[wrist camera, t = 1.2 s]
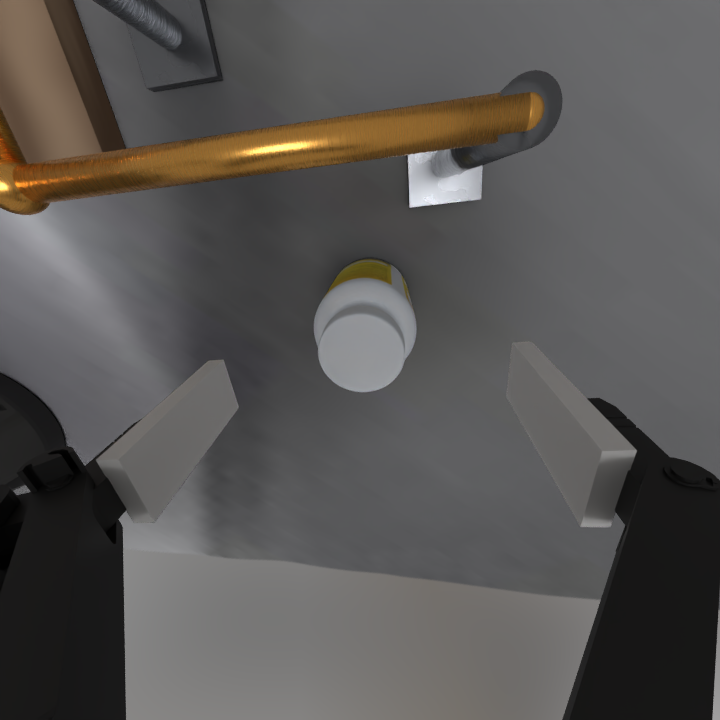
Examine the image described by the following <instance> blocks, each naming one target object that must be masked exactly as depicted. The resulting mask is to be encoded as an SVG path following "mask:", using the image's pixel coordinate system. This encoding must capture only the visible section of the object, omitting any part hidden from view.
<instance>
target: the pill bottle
mask: <svg viewBox="0 0 720 720" xmlns="http://www.w3.org/2000/svg"><path fill="white" fill-rule="evenodd" d="M416 331H417V326H416V318H415V314H414V310H413V306H412V302H411V299H410V295H409V291H408V287H407V284H406V281H405V279H404V277H403V276H402V274H401V273H400V272H399V271H398V270H397V269H396V268H395V267H394V266H393V265H391V264H389V263H388V262H386V261H383V260H380V259H375V258H365V259H360V260H357V261H354V262H352V263H350V264H349V265H347V266H346V267H345V268H343V269H342V270H341V272H340V273H339V274H338V275H337V277H336V278H335V280H334V282H333V283H332V285H331V287H330V288H329V290H328V291H327V293H326V295H325V296H324V298H323V299H322V301H321V303H320V305H319V307H318V309H317V312H316V315H315V319H314V336H315V340H316V343H317V346H318V357H319V362H320V364H321V367H322V369H323V371H324V372H325V374H326V375H327V376H328V377H329V378H330V379H331V380H332V381H333V382H334V383H336V384H337V385H339V386H340V387H342V388H345V389H347V390H351V391H356V392H370V391H375V390H378V389H381V388H383V387H385V386H387V385H388V384H390V383H391V382H392V381H393V380H394V379H395V378H396V377H397V376H398V374H399V373H400V371H401V369H402V367H403V364H404V361H405V359H406V358H407V357H408V355H409V354H410V352H411V350H412V348H413V346H414V343H415V339H416Z"/></svg>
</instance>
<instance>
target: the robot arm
mask: <svg viewBox="0 0 720 720" xmlns="http://www.w3.org/2000/svg"><path fill="white" fill-rule="evenodd" d="M506 397H507V399H508V401H509V403H510V404H511V406H512V408H513V410H514V411H515V413H516V415H517V417H518V418H519V420H520V422H521V424H522V425H523V427H524V429H525V431H526V432H527V434H528V436H529V438H530V439H531V441H532V443H533V445H534V446H535V448H536V450H537V452H538V453H539V455H540V457H541V459H542V460H543V462H544V464H545V466H546V467H547V469H548V471H549V473H550V474H551V476H552V478H553V480H554V481H555V483H556V485H557V487H558V488H559V490H560V492H561V494H562V495H563V497H564V499H565V501H566V502H567V504H568V506H569V508H570V509H571V511H572V513H573V515H574V516H575V518H576V520H577V521H578V523H579V525H580V527H611V524H612V521H613V518H614V515H615V512H616V513H617V514H618V516H619V517H620V519H621V520H622V521H623V523H624V524H625V528H624V530H623V533H622V536H621V538H620V541H619V544H618V546H617V549H616V555H615V558H614V561H613V564H612V567H611V570H610V573H609V577H608V580H607V583H606V586H605V589H604V592H603V595H602V598H601V601H600V604H599V608H598V611H597V614H596V617H595V620H594V624H593V626H592V630H591V633H590V636H589V639H588V642H587V645H586V648H585V651H584V654H583V657H582V660H581V664H580V667H579V670H578V673H577V676H576V679H575V682H574V686H573V689H572V692H571V695H570V698H569V701H568V704H567V707H566V710H565V714H564V716H563V719H562V720H712V713H713V696H714V678H715V659H716V643H717V624H718V607H719V589H720V480H719V479H718V478H717V477H716V476H715V475H713V474H712V473H710V472H709V471H707V470H706V469H704V468H702V467H700V466H698V465H696V464H693V463H691V462H688V461H685V460H681V459H677V458H670V457H669V456H668V455H667V454H666V453H665V452H664V451H663V450H661V449H660V448H659V447H658V446H657V445H656V444H655V443H654V442H653V441H652V440H651V439H650V438H649V437H648V436H646V435H645V434H644V433H643V432H642V431H641V430H640V429H639V428H636V425H635V424H634V423H633V422H632V421H630V420H629V419H627V417H626V416H625V415H624V414H623V413H622V412H621V411H620V410H619V409H618V408H617V407H615V406H613V405H612V404H610V403H608V402H606V401H604V400H602V399H600V398H588V399H587V398H586V397H585V396H584V395H583V394H582V393H581V392H580V391H579V390H578V389H577V388H576V387H575V386H574V385H573V384H572V383H571V382H570V381H569V380H568V379H567V378H566V377H565V376H564V375H563V374H562V373H561V371H560V370H559V369H558V368H557V367H556V366H555V365H554V364H553V363H552V362H551V361H550V360H549V359H548V358H547V357H546V356H545V355H544V354H543V353H542V352H541V351H540V350H539V349H538V348H537V347H536V346H535V345H534V344H533V343H532V342H531V341H529V342H512V349H511V359H510V368H509V377H508V386H507V396H506ZM238 408H239V406H238V403H237V400H236V397H235V393H234V390H233V387H232V384H231V381H230V378H229V375H228V372H227V369H226V366H225V363H224V360H209V361H207V362H206V363H205V364H204V365H203V366H202V367H201V368H199V369H198V370H197V371H196V372H195V373H194V374H193V375H192V376H190V377H189V378H188V379H187V380H186V381H185V382H184V383H182V384H181V385H180V386H179V387H178V388H177V389H176V390H175V391H173V392H172V393H171V394H170V395H169V396H168V397H167V398H165V399H164V400H163V401H162V402H161V403H160V404H159V405H157V406H156V407H155V408H154V409H153V410H152V411H151V412H150V413H148V414H147V415H146V416H145V417H144V418H143V419H141V420H139V421H138V422H136V423H134V424H133V425H132V426H131V427H129V428H128V429H127V430H126V431H125V432H124V433H123V435H120V436H119V437H118V438H117V439H116V440H115V442H112V443H111V444H110V445H109V446H108V447H106V448H105V449H104V450H103V451H102V452H101V453H100V454H98V455H97V456H96V457H95V458H94V459H93V460H91V461H90V462H89V463H88V464H87V465H86V466H84V465H83V463H82V462H81V460H80V458H79V457H78V455H77V454H76V452H75V451H74V449H73V448H72V447H68V446H66V447H65V441H64V436H63V433H62V431H61V428H60V426H59V424H58V423H57V421H56V419H55V418H54V416H53V415H52V414H51V412H50V411H49V410H48V409H47V408H46V407H45V405H44V404H43V403H42V402H41V401H40V400H38V399H37V398H36V397H35V396H34V395H33V394H32V393H30V392H29V391H28V390H26V389H25V388H24V387H22V386H21V385H19V384H17V383H16V382H14V381H12V380H11V379H9V378H7V377H5V376H3V375H1V374H0V720H126V703H125V702H126V700H125V698H126V697H125V647H124V645H125V639H124V586H123V585H124V583H123V582H124V581H123V527H122V525H121V523H120V521H119V520H118V519H119V518H120V517H121V515H122V514H123V513H124V512H125V511H127V512H128V514H129V516H130V517H131V519H132V521H133V522H134V523H155V521H156V520H157V519H158V517H159V516H160V515H161V513H162V512H163V510H164V509H165V508H166V506H167V505H168V504H169V502H170V501H171V500H172V498H173V497H174V495H175V494H176V493H177V491H178V490H179V489H180V487H181V486H182V485H183V483H184V482H185V480H186V479H187V478H188V476H189V475H190V474H191V472H192V471H193V470H194V468H195V467H196V465H197V464H198V463H199V461H200V460H201V459H202V457H203V456H204V455H205V453H206V452H207V450H208V449H209V448H210V446H211V445H212V444H213V442H214V441H215V440H216V438H217V437H218V435H219V434H220V433H221V431H222V430H223V429H224V427H225V426H226V425H227V423H228V422H229V421H230V419H231V418H232V416H233V415H234V414H235V412H236V411H237V410H238ZM24 485H26V486H27V487H28V489H29V490H30V491H31V492H29V493H25V494H21V495H16V494H15V493H14V492H13V490H16V489H18V488H20V487H22V486H24Z"/></svg>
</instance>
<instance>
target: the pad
mask: <svg viewBox="0 0 720 720" xmlns="http://www.w3.org/2000/svg"><path fill="white" fill-rule="evenodd" d="M0 107H1V109H2V111H3V113H4V115H5V117H6V120H7V122H8V124H9V126H10V128H11V130H12V132H13V134H14V136H15V138H16V140H17V142H18V145H19V147H20V149H21V151H22V153H23V155H24V157H25V159H26V161H27V163H28V164H29V163H36V162H42V161H49V160H56V159H62V158H69V157H76V156H82V155H89V154H96V153H102V152H109V151H116V150H122V149H126V148H125V145H124V142H123V139H122V136H121V134H120V131H119V128H118V125H117V122H116V120H115V117H114V114H113V111H112V108H111V106H110V103H109V100H108V97H107V94H106V92H105V89H104V86H103V83H102V81H101V78H100V75H99V72H98V69H97V67H96V64H95V61H94V58H93V55H92V53H91V50H90V47H89V44H88V41H87V39H86V36H85V33H84V30H83V27H82V25H81V22H80V19H79V16H78V14H77V11H76V8H75V5H74V2H73V0H0Z"/></svg>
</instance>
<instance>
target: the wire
mask: <svg viewBox="0 0 720 720" xmlns="http://www.w3.org/2000/svg"><path fill="white" fill-rule="evenodd" d="M93 1H94V2H96V3H97V4H99V5H100V6H102V7H103V8H105V9H106V10H108V11H109V12H111V13H112V14H114V15H115V16H117V17H118V18H120V19H121V20H123V21H124V22H126V24H127V27H128V31H129V34H130V37H131V40H132V43H133V47H134V50H135V53H136V56H137V59H138V63H139V66H140V69H141V72H142V75H143V79H144V82H145V85H146V88H147V89H149V90H151V91H153V92H156V91H162V90H168V89H174V88H180V87H186V86H192V85H197V84H203V83H209V82H215V81H221V80H223V79H222V74H221V70H220V66H219V61H218V57H217V52H216V48H215V44H214V39H213V35H212V31H211V26H210V22H209V18H208V13H207V9H206V4H205V0H93ZM561 109H562V93H561V89H560V87H559V84H558V83H557V81H556V80H555V79H554V78H553V76H551V75H550V74H548V73H546V72H543V71H537V70H535V71H529V72H525V73H523V74H521V75H519V76H518V77H516V78H515V79H513V80H512V81H511V82H510V83H509V84H508V85H507V86H506V87H505V88H504V89H503V90H502V91H501V92H500V93H494V94H487V95H481V96H474V97H468V98H461V99H454V100H448V101H441V102H434V103H428V104H421V105H414V106H408V107H401V108H394V109H388V110H381V111H375V112H368V113H361V114H355V115H348V116H341V117H335V118H328V119H321V120H315V121H308V122H302V123H295V124H288V125H282V126H275V127H268V128H262V129H255V130H248V131H242V132H235V133H228V134H222V135H215V136H209V137H202V138H195V139H189V140H182V141H175V142H169V143H162V144H155V145H149V146H142V147H135V148H129V149H122V150H116V151H109V152H102V153H96V154H89V155H82V156H76V157H69V158H62V159H56V160H49V161H42V162H36V163H29V164H28V163H27V161H26V159H25V157H24V155H23V153H22V151H21V149H20V147H19V145H18V142H17V140H16V138H15V136H14V134H13V132H12V130H11V128H10V126H9V124H8V122H7V120H6V117H5V115H4V113H3V111H2V109H1V107H0V208H2V209H4V210H6V211H9V212H12V213H15V214H21V215H33V214H37V213H40V212H42V211H44V210H45V209H46V208H47V207H48V206H49V204H50V202H58V201H65V200H73V199H80V198H88V197H95V196H103V195H110V194H118V193H125V192H133V191H140V190H148V189H155V188H163V187H170V186H178V185H185V184H193V183H200V182H208V181H215V180H223V179H230V178H238V177H245V176H253V175H260V174H268V173H275V172H283V171H290V170H298V169H305V168H313V167H320V166H328V165H335V164H343V163H350V162H358V161H365V160H373V159H380V158H388V157H395V156H403V155H407V164H408V192H409V207H418V206H427V205H436V204H444V203H453V202H462V201H470V200H479V199H481V189H482V169H483V165H484V164H487V163H490V162H493V161H495V160H498V159H501V158H504V157H507V156H510V155H512V154H515V153H518V152H521V151H524V150H527V149H529V148H532V147H534V146H536V145H538V144H540V143H541V142H542V141H544V140H545V139H546V138H547V137H548V136H549V134H550V133H551V132H552V131H553V129H554V128H555V126H556V124H557V122H558V119H559V117H560V113H561Z"/></svg>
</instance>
